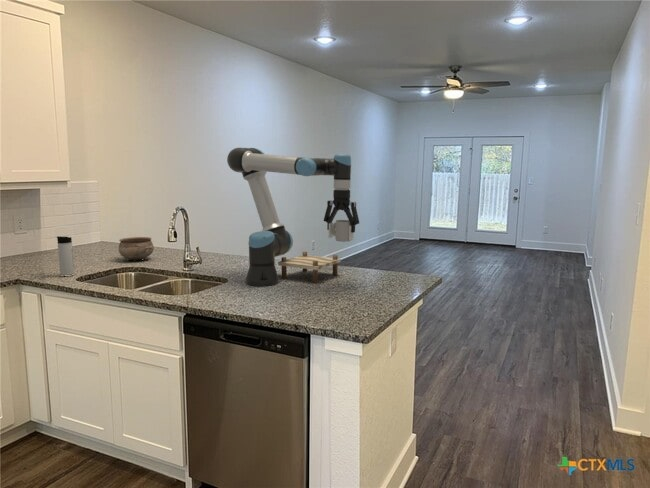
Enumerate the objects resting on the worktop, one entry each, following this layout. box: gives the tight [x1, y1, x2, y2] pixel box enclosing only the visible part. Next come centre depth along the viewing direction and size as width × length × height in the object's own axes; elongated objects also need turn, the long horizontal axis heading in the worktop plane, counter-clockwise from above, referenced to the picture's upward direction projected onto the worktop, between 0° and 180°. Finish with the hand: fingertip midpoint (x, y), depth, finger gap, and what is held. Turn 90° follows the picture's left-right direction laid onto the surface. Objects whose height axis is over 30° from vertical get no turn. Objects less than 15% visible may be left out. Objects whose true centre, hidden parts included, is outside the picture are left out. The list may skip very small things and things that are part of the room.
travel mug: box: [56, 236, 75, 276], centre depth 246 cm, size 6×7×20 cm
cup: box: [332, 219, 352, 243], centre depth 226 cm, size 7×10×9 cm
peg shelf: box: [277, 251, 341, 284], centre depth 244 cm, size 22×22×10 cm
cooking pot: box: [118, 236, 155, 261], centre depth 287 cm, size 25×19×12 cm
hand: (340, 238), depth 226 cm, fingers closed on cup, 10 cm apart
